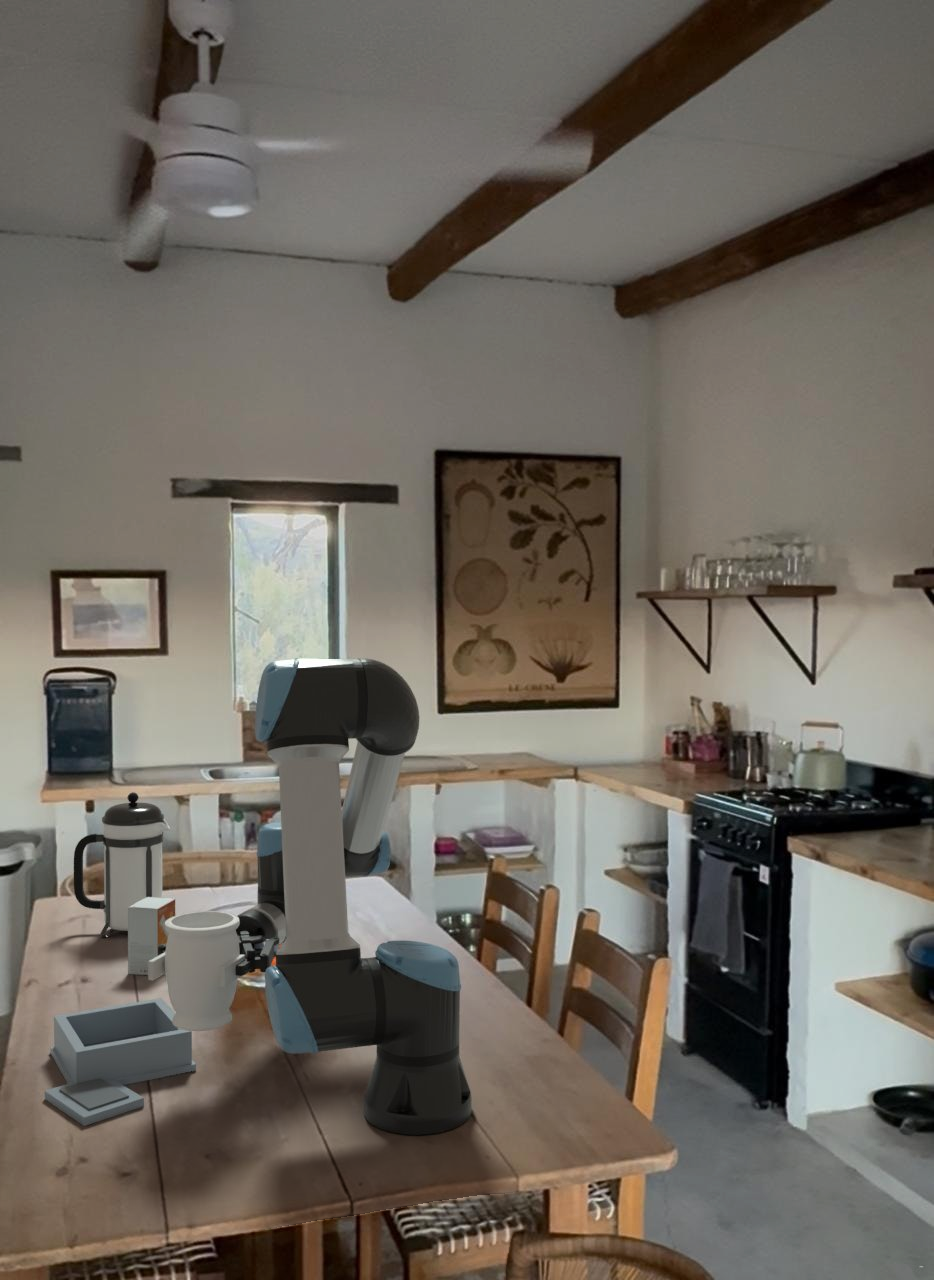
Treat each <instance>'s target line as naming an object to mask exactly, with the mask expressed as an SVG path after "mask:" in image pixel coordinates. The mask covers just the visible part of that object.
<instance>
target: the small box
mask: <svg viewBox="0 0 934 1280" xmlns="http://www.w3.org/2000/svg"><path fill="white" fill-rule="evenodd" d="M173 916H176V898H169V897H168V898H167V897H162V898H156V897H146V898H144V899H142V900H141V901H138V902H136V903H135V904H133V905H131V906H130V907H128V931H127V974H129V975H138V976H139V975H140V976H148V961H150V960H152V959H153V958H155V957H157V956H158V946H159V945H162V944H165V943H167V940H168V936H169V933H168V932H167V931H166V929H165V921H166V920H167V919H169V918H171V917H173Z"/></svg>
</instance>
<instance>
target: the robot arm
mask: <svg viewBox="0 0 934 1280" xmlns="http://www.w3.org/2000/svg"><path fill="white" fill-rule="evenodd" d="M254 716H255V717H254V729H255V731H254V732H255V733H254V736H255V740H256V741H257V742H260V743H261V744H264V743H266V749H267V750H266V752H267V753H266V754H267V756H268V758H270V759H271V760H272V761H273V762H274V763H275V764H276V765H277V767H278V777H279V782H278V783H279V798H280V799H279V800H280V801H279V802H280V803H279V804H280V821H279V822H270V823H266V824H264V825H262V826H261V827H260V828H259V830H258V832H257V833H258V835H257V851H256V857H257V859H256V861H257V904H256V905H254V906H253V907H251V908H249V909H247V910H245V911H244V912H243V911H242V913H240V914H238V915H237V916H238V917H239V921H240V924H239V927H238V928H237V929H236V933H237V936H238V941H239V949H240V955H239V956H237V957H236V958H234V959H233V960H231V961H229V962H228V963H226V964H224V965H223V966H221V967H220V987H226V986H227V985H229V984H230V983H232V982H233V981H235V980H236V979H237V980H238V979H239V978H241V977H243V976H246V975H247V974H248V973H249V974H252V973H255V972H256V970H260V973H262V974H263V973H264V983H265V985H264V987H265V988H264V990H265V991H264V992H265V999H266V1004H267V1010H268V1015H269V1020H270V1024H271V1027H272V1032H273V1035H274V1038H275V1040H276V1043H277V1045H278V1046H279V1048H280V1049H281V1050H282V1051H284V1052H285V1053H287V1054H293V1055H294V1054H308V1053H312V1054H314V1055H316V1054H318V1053H319V1052H326V1051H336V1050H344V1049H350V1048H351V1049H352V1048H361V1047H370V1046H371V1047H372V1046H376V1057H375V1061H374V1065H373V1068H372V1070H371V1074H370V1077H369V1080H368V1083H367V1086H366V1089H365V1092H364V1096H363V1114H364V1115H363V1116H364V1117H365V1120H366V1121H368V1122H369V1123H370V1124H371V1125H373V1126H374V1127H375V1128H378V1129H379V1130H380V1129H381V1130H384V1131H387V1132H390V1133H395V1134H399V1135H401V1134H402V1135H411V1136H413V1135H414V1136H416V1135H430V1134H433V1135H434V1134H438V1133H443V1132H446V1131H450V1130H452V1129H453V1130H454V1129H455V1128H458V1127H459V1126H461V1125H463V1124H464V1123H465V1122H467V1121H468V1120H469V1118H470V1116H471V1115H472V1110H473V1109H472V1103H473V1102H472V1091H471V1089H470V1085H469V1082H468V1079H467V1076H466V1073H465V1069H464V1066H463V1064H462V1060H461V1058H460V1022H461V1021H460V1016H461V1015H460V1006H461V1005H460V1004H461V1003H460V1000H461V999H460V997H461V995H460V994H461V989H462V985H461V976H460V966H459V961H458V959H457V958H456V956H455V955H454V954H453V953H452V952H451V951H449V950H448V949H446V948H443V947H441V946H439V945H435V944H431V943H427V942H423V941H422V942H421V941H415V940H414V941H413V940H389V941H387V942H382V943H380V944H379V945H378V946H377V948H376V950H375V951H374V952H375V957H374V956H373V957H362V956H361V943H360V944H359V943H358V942H357V941H356V939H354V938H353V937H352V936H351V935H350V933H349V919H348V903H347V900H348V899H347V898H348V897H347V885H346V882H347V881H346V878H349V877H352V878H353V877H368V876H369V877H370V876H373V875H380V874H385V873H386V872H387V871H388V869H389V867H390V864H391V843H390V838H389V835H388V834H387V832H386V831H385V827H386V823H387V819H388V815H389V812H390V808H391V804H392V801H393V797H394V793H395V791H396V787H397V783H398V781H399V776H400V772H401V769H402V765H403V762H404V758H405V754H406V753H408V752H409V751H410V750H411V749H412V748H413V747H414V745H415V743H416V740H417V736H418V733H419V729H420V710H419V706H418V703H417V698H416V696H415V694H414V692H413V690H412V688H411V686H410V685H409V684H408V682H407V681H406V680H405V678H404V677H403V676H402V675H401V674H400V673H399V672H398V671H397V670H395V669H394V668H393V667H391V666H390V665H388V664H386V663H385V662H382V661H379V660H376V659H373V658H355V659H354V658H353V659H350V658H299V657H298V658H296V657H295V658H294V659H285V660H284V659H283V660H274V661H271V662H270V663H268V664H267V665H266V666H265V667H264V669H263V672H262V673H261V677H260V681H259V686H258V691H257V697H256V706H255V715H254ZM349 739H350V740H351V739H356V741H357V742H356V747H355V752H354V755H353V761H352V765H351V769H350V774H349V776H348V777H349V778H348V782H347V785H346V790H345V795H344V799H343V804H342V795H341V793H342V789H341V773H340V762H341V760H342V759H343V758H344V757H345V755H347V753H348V752H349V751H350V745H349V744H350V741H349ZM166 944H167V943H165V944H162V945H159V946H158V956H157V957H155V958H153V959H152V960H150V961H148V975H147V977H148V978H147V979H148V981H155V980H157V979H159V978H160V977H162V976H163V975H166V974H165V951H166ZM274 958H275V964H273V961H274ZM272 964H273V965H272Z"/></svg>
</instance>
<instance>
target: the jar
mask: <svg viewBox="0 0 934 1280" xmlns="http://www.w3.org/2000/svg"><path fill="white" fill-rule="evenodd" d="M239 924H240V921H239V917H238V915H236V914H233V913H231V912H225V911H224V912H223V911H211V910H209V911H193V912H187V913H186V912H185V913H182V914H177V915H175V916H173V917H171V918H169V919H167V920H166V921H165V929H166V931H167V932H168V933H169V936H168V940H167V944H166V951H165V974H164V975H165V979H166V983H167V993H168V997H169V1001H170V1004H171V1006H172V1008H173V1009H172V1010H173V1011H174V1012H175V1013H176V1014H175V1015H174V1017H173V1019H172V1023H173V1025H174V1026H175V1027H177V1028H179V1029H182V1030H187V1031H192V1032H206V1031H207V1032H208V1031H211V1030H216V1029H220V1028H223V1027H225V1026H226V1025H229V1024H230V1023H231V1022H232V1021H233V1014H232V1012H231V1011H230V1008H231V1006H232V1004H233V1001H234V999H235V996H236V995H235V994H236V990H237V984H238V979H236V980H235V981H233V982H232V983H230V984H229V985H227V986H226V987H220V967H221V966H223V965H224V964H226V963H228V962H229V961H231V960H233V959H234V958H236V957H237V956H239V955H240V949H239V941H238V936H237V933H236V929H237V928H238V927H239Z"/></svg>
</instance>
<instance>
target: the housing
mask: <svg viewBox="0 0 934 1280" xmlns="http://www.w3.org/2000/svg"><path fill="white" fill-rule="evenodd" d="M175 1014H176V1012H175V1010H174V1009H172V1008H171V1007H170V1006H169V1004H167V1002H166V1000H164V999H163V998H162V997H159V998H152V999H146V1000H142V1001H141V1000H140V1001H135V1002H134V1001H133V1002H128V1003H123V1004H116V1005H111V1006H105V1007H99V1008H98V1007H97V1008H93V1009H86V1010H80V1011H74V1012H69V1013H62V1014H55V1015H53V1027H54V1028H53V1045H51V1046H49V1047H50V1048H49V1051H50V1054H51V1057H52V1058H53V1060H54V1062H55V1063H56V1066H57V1067H58V1069H59V1071H60V1073H61V1074H62V1076H63V1078H64V1080H65V1082H66V1084H69V1083H72V1082H75V1083H76V1084H77V1083H80V1082H84V1081H89V1080H94V1079H99V1078H101V1079H103V1080H105V1079H110V1078H112V1079H113V1080H115V1081H117V1082H118V1083H120V1084H122V1085H123V1086H126V1085H132V1084H136V1083H141V1082H146V1081H151V1080H157V1079H161V1078H166V1076H167V1077H171V1076H176V1074H177V1075H181V1073H182V1074H186V1072H187V1073H191V1071H192V1072H196V1071H197V1063H196V1062H195V1061H194V1060H193V1049H192V1047H193V1039H192V1038H193V1036H192V1035H193V1034H192V1032H193V1031H187V1030H182V1029H179V1028H177V1027H175V1026H174V1025H173V1023H172V1019H173V1017H174V1015H175ZM170 1075H171V1076H170Z"/></svg>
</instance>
